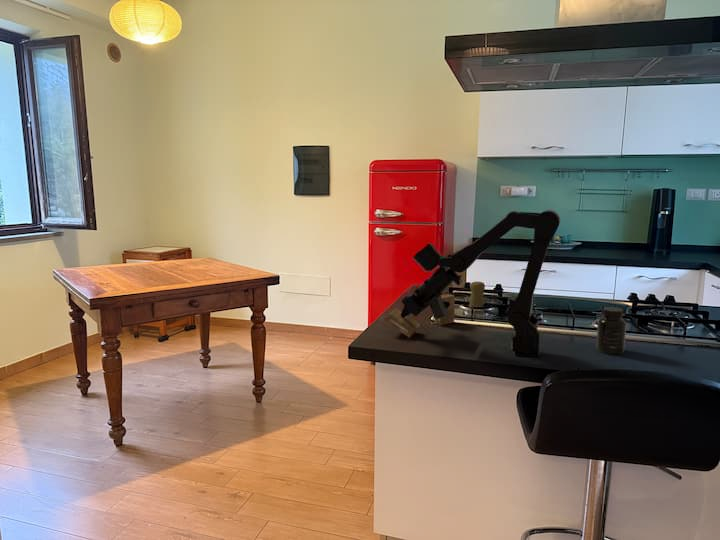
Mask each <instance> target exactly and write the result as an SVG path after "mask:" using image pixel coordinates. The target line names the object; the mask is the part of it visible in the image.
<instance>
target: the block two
mask: <svg viewBox="0 0 720 540" xmlns="http://www.w3.org/2000/svg"><path fill="white" fill-rule="evenodd" d="M441 297H442V299H444V300H449V301H450V304H451V305H450V306H449V308H448V310H449V311H448V314H447V315H446V316H444V317H441V318H439V319H435V318H434V321H433V322H434V324H436V325H439V326H443V325H447V324H451V323H454V322H455V298H456V297H455V294H451V293H445V294H444V293H443V294H441Z"/></svg>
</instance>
